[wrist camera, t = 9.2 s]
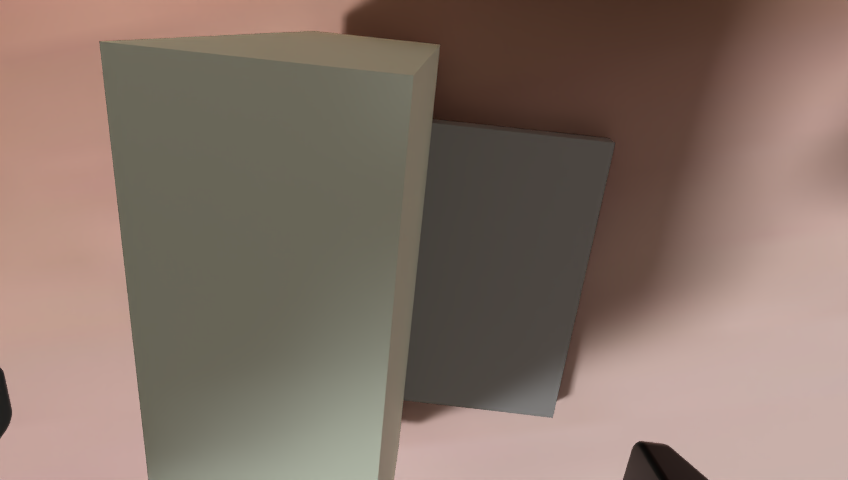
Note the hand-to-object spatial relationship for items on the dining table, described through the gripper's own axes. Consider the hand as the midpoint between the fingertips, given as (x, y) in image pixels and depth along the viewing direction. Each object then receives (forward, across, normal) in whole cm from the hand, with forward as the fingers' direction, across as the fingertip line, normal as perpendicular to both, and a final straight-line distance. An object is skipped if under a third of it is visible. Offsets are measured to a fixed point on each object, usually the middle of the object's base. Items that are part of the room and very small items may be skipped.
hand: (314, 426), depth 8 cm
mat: (+6, 0, 0) cm, 6 cm away
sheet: (+5, 0, 0) cm, 5 cm away
